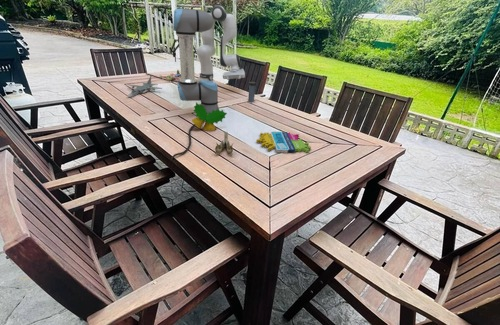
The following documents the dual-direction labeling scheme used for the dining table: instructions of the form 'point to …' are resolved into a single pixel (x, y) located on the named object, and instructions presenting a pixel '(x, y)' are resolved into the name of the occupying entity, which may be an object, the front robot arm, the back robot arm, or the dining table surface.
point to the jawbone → (224, 145)
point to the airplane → (142, 88)
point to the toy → (172, 76)
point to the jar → (251, 93)
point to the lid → (252, 83)
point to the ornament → (207, 117)
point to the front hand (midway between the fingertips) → (184, 61)
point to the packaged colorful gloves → (283, 142)
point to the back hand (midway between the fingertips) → (233, 78)
